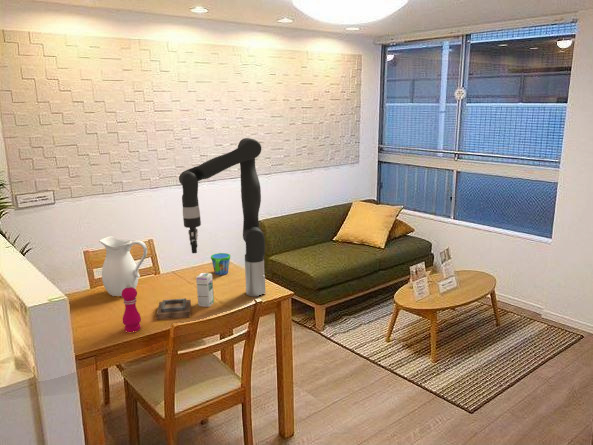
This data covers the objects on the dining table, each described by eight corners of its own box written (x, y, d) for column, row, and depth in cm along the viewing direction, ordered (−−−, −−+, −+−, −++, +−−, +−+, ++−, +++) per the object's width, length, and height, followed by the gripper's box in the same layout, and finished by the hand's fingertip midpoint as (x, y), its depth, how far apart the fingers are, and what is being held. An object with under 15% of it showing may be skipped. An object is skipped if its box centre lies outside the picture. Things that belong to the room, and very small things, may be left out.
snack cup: (217, 268, 280) (217, 251, 277) (235, 269, 277) (234, 252, 275) (206, 277, 265) (205, 259, 263) (225, 278, 263) (224, 260, 260)
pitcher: (96, 297, 238) (90, 242, 232) (116, 285, 254) (111, 233, 247) (140, 301, 232) (135, 245, 226) (158, 289, 248) (154, 236, 242)
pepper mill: (135, 324, 208) (131, 279, 204) (145, 328, 204) (141, 283, 199) (120, 330, 203) (115, 284, 198) (129, 335, 198) (125, 288, 194)
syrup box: (209, 307, 225) (208, 277, 222) (197, 306, 226) (195, 276, 223) (214, 302, 231) (212, 273, 227) (202, 301, 232) (200, 272, 229)
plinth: (190, 304, 228) (190, 296, 227) (189, 316, 215) (189, 308, 214) (159, 307, 226) (159, 298, 225) (156, 319, 213) (156, 311, 212)
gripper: (199, 218, 214) (202, 254, 218) (200, 211, 227) (203, 245, 231) (182, 220, 213) (185, 255, 216) (183, 213, 226) (187, 246, 230)
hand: (194, 250), depth 224 cm, fingers open, 8 cm apart
